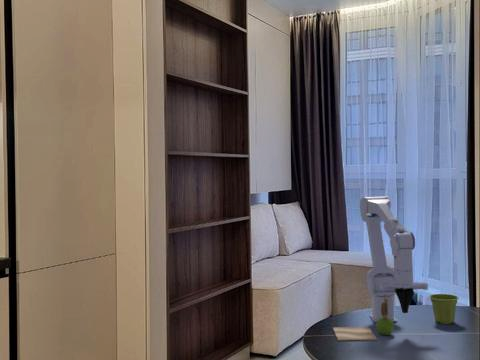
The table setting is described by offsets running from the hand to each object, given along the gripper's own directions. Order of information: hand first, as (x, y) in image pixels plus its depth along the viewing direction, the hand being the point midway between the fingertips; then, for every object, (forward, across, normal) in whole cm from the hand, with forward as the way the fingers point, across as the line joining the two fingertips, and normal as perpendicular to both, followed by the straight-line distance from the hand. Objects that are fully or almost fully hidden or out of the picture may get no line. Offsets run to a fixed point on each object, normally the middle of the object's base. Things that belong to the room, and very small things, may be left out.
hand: (404, 312), depth 165 cm
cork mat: (+7, -16, 0) cm, 18 cm away
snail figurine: (+7, -6, 0) cm, 9 cm away
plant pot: (+7, +17, +14) cm, 23 cm away
